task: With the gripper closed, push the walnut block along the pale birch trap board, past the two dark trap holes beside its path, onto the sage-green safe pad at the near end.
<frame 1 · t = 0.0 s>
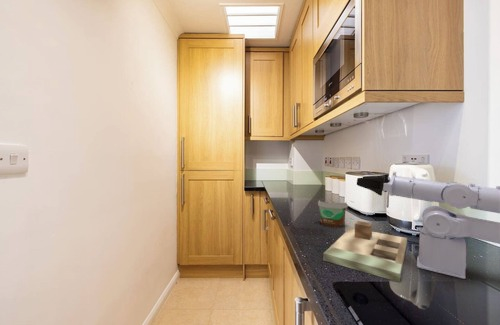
hand: (360, 180, 72), 22 cm above the counter, tool horizontal, fingers open, 7 cm apart
trap board: (368, 251, 71), on the counter
food container: (330, 225, 98), on the counter
block: (363, 236, 78), point 2 cm above the counter, touching trap board
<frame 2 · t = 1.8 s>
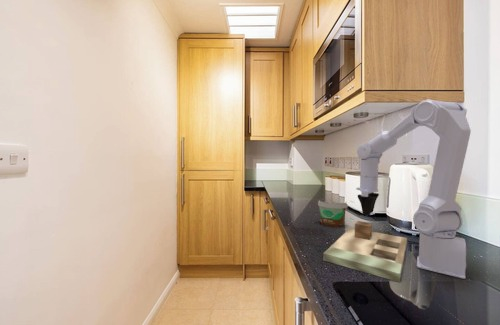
hand: (367, 213, 84), 8 cm above the counter, tool pointing down, fingers open, 5 cm apart
nothing on the counter moved.
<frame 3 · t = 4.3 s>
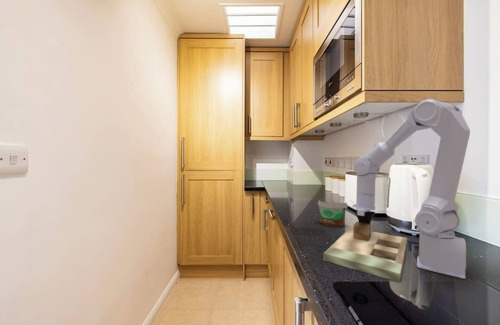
hand: (364, 232, 80), 3 cm above the counter, tool pointing down, fingers closed
block: (362, 237, 77), point 2 cm above the counter, touching gripper, trap board
everything else where it was.
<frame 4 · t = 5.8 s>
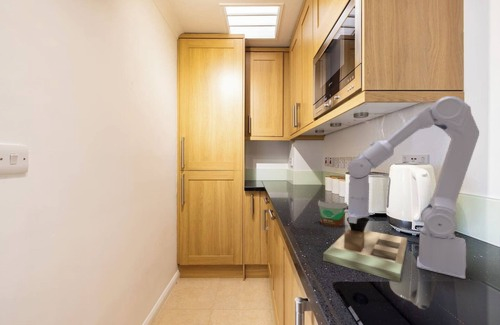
hand: (357, 241, 72), 3 cm above the counter, tool pointing down, fingers closed
block: (354, 247, 69), point 2 cm above the counter, touching gripper
everything else where it was.
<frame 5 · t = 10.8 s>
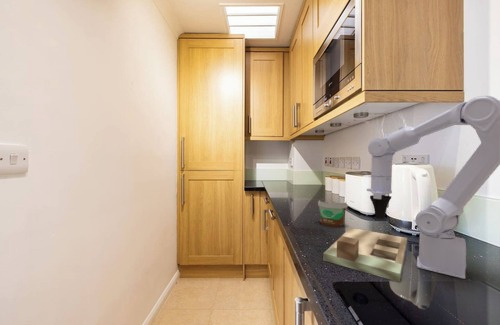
hand: (380, 218, 74), 9 cm above the counter, tool pointing down, fingers closed
block: (347, 256, 63), point 2 cm above the counter, touching trap board
everything else where it was.
at the end: block 0.5 cm from the target spot, point 2.0 cm above the counter; block tilted 0° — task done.
